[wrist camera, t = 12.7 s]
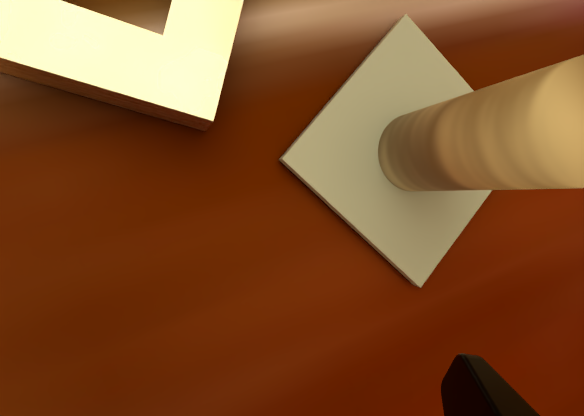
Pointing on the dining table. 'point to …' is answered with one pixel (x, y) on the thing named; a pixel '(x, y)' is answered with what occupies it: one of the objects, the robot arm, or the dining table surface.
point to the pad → (364, 154)
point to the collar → (124, 55)
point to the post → (494, 136)
